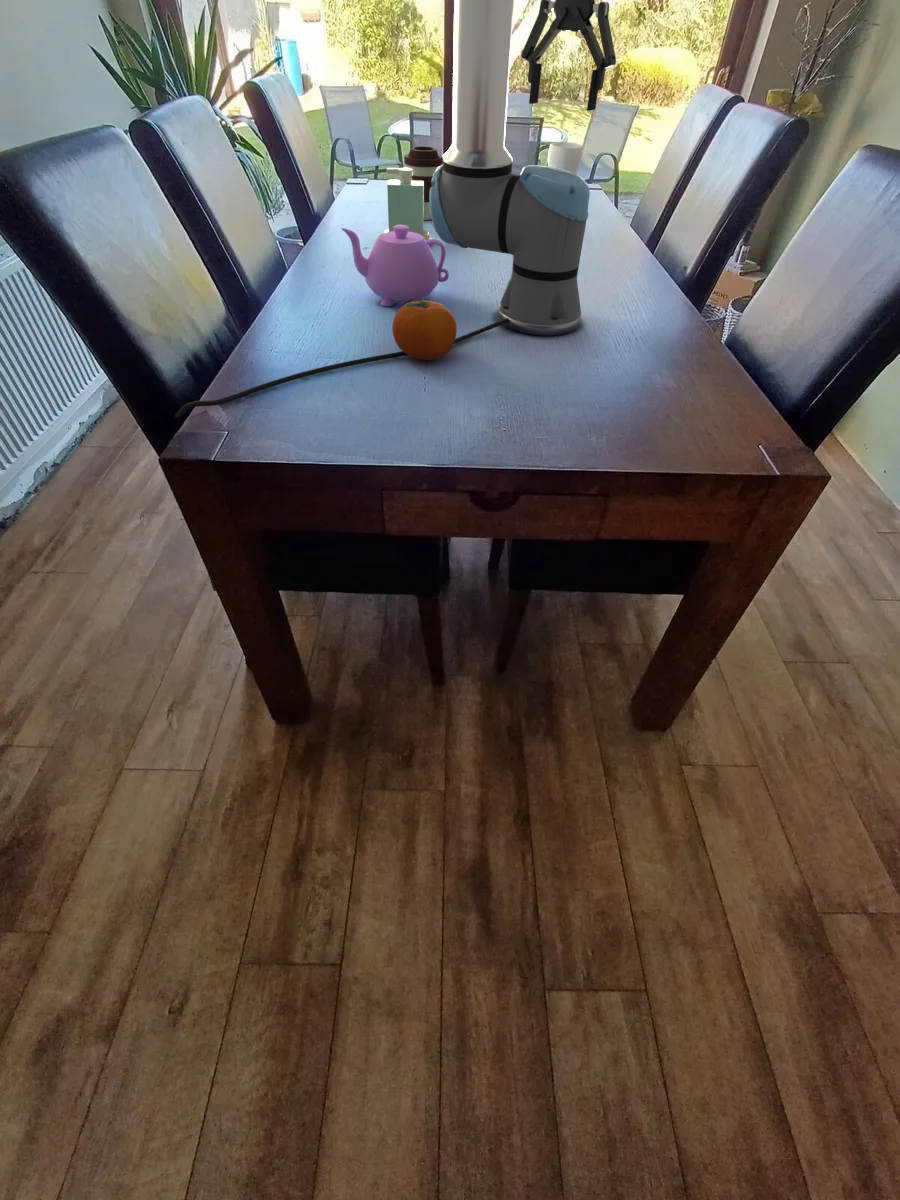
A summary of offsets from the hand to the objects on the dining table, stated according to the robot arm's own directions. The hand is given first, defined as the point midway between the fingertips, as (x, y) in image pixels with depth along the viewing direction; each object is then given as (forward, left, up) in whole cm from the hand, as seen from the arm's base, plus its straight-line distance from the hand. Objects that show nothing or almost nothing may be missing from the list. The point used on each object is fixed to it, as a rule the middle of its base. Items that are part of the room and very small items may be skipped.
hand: (561, 106), depth 134 cm
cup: (+27, +8, -27) cm, 39 cm away
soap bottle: (-19, +28, -25) cm, 42 cm away
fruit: (-71, -8, -27) cm, 76 cm away
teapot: (-51, +10, -27) cm, 58 cm away
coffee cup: (+4, +37, -27) cm, 46 cm away
